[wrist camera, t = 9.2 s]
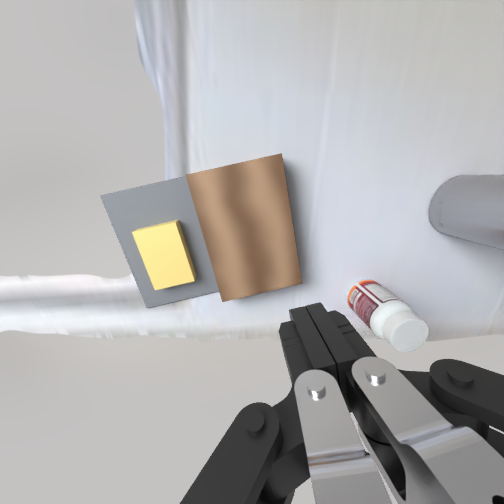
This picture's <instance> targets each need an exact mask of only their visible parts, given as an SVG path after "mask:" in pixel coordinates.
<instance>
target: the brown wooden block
mask: <svg viewBox="0 0 504 504" xmlns="http://www.w3.org/2000/svg"><path fill="white" fill-rule="evenodd" d="M186 179H187V182H188V185H189V189H190V192H191V196H192V199H193V203H194V206H195V209H196V213H197V216H198V220H199V223H200V227H201V230H202V234H203V237H204V240H205V244H206V247H207V251H208V254H209V258H210V261H211V264H212V268H213V271H214V275H215V278H216V282H217V285H218V288H219V292H220V295H221V299H222V302H225V301H229V300H233V299H238V298H242V297H246V296H250V295H255V294H259V293H263V292H267V291H272V290H276V289H280V288H284V287H289V286H293V285H297V284H301V283H302V279H301V272H300V266H299V260H298V253H297V247H296V241H295V234H294V228H293V222H292V215H291V209H290V203H289V197H288V190H287V184H286V178H285V171H284V165H283V159H282V153H281V154H277V155H272V156H268V157H264V158H259V159H255V160H250V161H246V162H241V163H237V164H232V165H228V166H224V167H219V168H215V169H210V170H206V171H201V172H197V173H192V174H188V175H186Z"/></svg>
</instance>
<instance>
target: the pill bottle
mask: <svg viewBox="0 0 504 504" xmlns="http://www.w3.org/2000/svg"><path fill="white" fill-rule="evenodd" d="M347 303H348V305H349V306H350V308H351V309H352V310H353V311H354V312H355V313H356V314H357V315H358V316H359V317H360V318H361V320H362V321H363V322H364V323H365V324H366V325H367V326H368V327H369V328H370V329H371V330H372V332H373V333H375V334H376V335H377V336H378V337H379V338H381V339H384V340H386V341H387V342H388V343H389V344H390V345H391V346H392V347H393V348H394V349H395V350H397V351H400V352H410V351H413V350H415V349H417V348H419V347H420V346H421V345H422V344H423V343H424V342H425V341H426V339H427V337H428V334H429V328H428V325H427V324H426V322H425V321H423V320H422V319H421V318H419V317H418V316H417V315H416V314H414V312H413V310H412V309H411V307H410V306H409V305H407V304H406V303H405V302H403V301H402V300H400V299H399V298H398V297H396V296H395V295H393V294H392V293H391V292H389V291H388V290H386V289H385V288H384V287H382V286H381V285H380V284H378V283H377V282H375V281H373V280H368V279H365V280H360V281H358V282H356V283H355V284H353V285H352V286H351V287H350V289H349V291H348V293H347Z"/></svg>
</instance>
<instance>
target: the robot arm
mask: <svg viewBox="0 0 504 504" xmlns="http://www.w3.org/2000/svg"><path fill="white" fill-rule="evenodd" d="M429 218H430V222H431V224H432V226H433V227H434V228H435V229H436V230H437V231H439V232H441V233H444V234H447V235H451V236H455V237H459V238H462V239H466V240H469V241H473V242H477V243H480V244H484V245H488V246H492V247H495V248H499V249H503V250H504V175H461V176H456V177H454V178H452V179H450V180H448V181H447V182H445V183H444V184H443V185H442V186H441V187H440V188H439V189H438V190H437V192H436V193H435V195H434V197H433V199H432V201H431V204H430V208H429ZM289 314H290V319H291V321H288V322H284V323H281V326H280V329H279V334H280V339H281V343H282V347H283V352H284V356H285V360H286V364H287V367H288V371H289V375H290V378H291V382H292V388H291V391H290V393H289V394H288V396H287V397H286V398H285V399H284V400H283V401H281V402H279V403H278V404H276V405H275V406H273V407H271V406H270V405H268V404H266V403H253V404H250V405H248V406H246V407H245V408H243V409H242V410H241V411H240V412H239V414H238V415H237V417H236V418H235V420H234V421H233V423H232V424H231V426H230V428H229V429H228V430H227V432H226V434H225V435H224V437H223V438H222V440H221V441H220V443H219V444H218V446H217V447H216V449H215V450H214V452H213V453H212V455H211V456H210V458H209V460H208V461H207V463H206V464H205V466H204V467H203V469H202V470H201V472H200V473H199V475H198V477H197V478H196V480H195V481H194V483H193V484H192V486H191V487H190V489H189V490H188V492H187V493H186V495H185V497H184V498H183V500H182V501H181V503H180V504H291V502H292V499H293V496H294V492H295V489H296V488H297V487H298V486H300V485H301V484H302V483H304V482H305V481H306V480H307V479H309V478H310V477H311V482H312V487H313V492H314V497H315V503H316V504H392V502H391V500H390V497H389V495H388V493H387V490H386V488H385V486H384V483H383V481H382V479H381V476H380V474H379V472H378V469H377V467H378V468H379V470H380V472H381V474H382V476H383V477H384V479H385V481H386V483H387V484H388V486H389V488H390V490H391V492H392V493H393V495H394V497H395V499H396V500H397V502H398V504H504V434H502V433H500V432H498V431H496V430H494V429H491V428H489V425H490V426H492V427H494V428H496V429H499V430H501V431H503V432H504V375H501V374H498V373H495V372H492V371H489V370H486V369H483V368H480V367H477V366H475V365H472V364H468V363H466V362H462V361H458V360H454V359H442V360H437V361H435V362H434V363H433V364H432V365H431V367H430V372H416V371H404V370H399V369H397V368H396V367H395V366H394V365H392V364H391V363H390V362H388V361H386V360H384V359H381V358H378V357H377V356H376V355H375V354H374V352H373V351H372V350H371V349H370V347H369V346H368V345H367V343H366V342H365V341H364V340H363V338H362V337H361V336H360V335H359V333H358V332H356V330H355V328H354V327H353V326H352V325H351V323H350V322H349V321H348V319H347V318H346V317H345V316H344V315H342V314H341V313H339V312H337V311H335V310H334V311H330V312H327V311H326V309H325V308H324V306H323V305H322V303H315V304H311V305H307V306H305V307H304V306H303V307H299V308H295V309H291V310H289ZM350 412H353V414H354V416H355V418H356V420H357V422H358V430H359V434H360V436H361V438H362V440H363V442H364V444H365V446H366V447H367V449H368V451H369V452H370V454H371V455H370V454H369V453H367V452H366V451H365V449H364V447H363V445H362V443H361V440H360V438H359V435H358V433H357V430H356V428H355V425H354V423H353V420H352V418H351V416H350ZM371 456H372V457H371ZM375 463H376V464H375ZM376 465H377V467H376Z"/></svg>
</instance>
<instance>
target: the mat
mask: <svg viewBox="0 0 504 504" xmlns="http://www.w3.org/2000/svg"><path fill="white" fill-rule="evenodd" d="M100 197H101V199H102V201H103V204H104V206H105V209H106V211H107V213H108V216H109V218H110V221H111V223H112V226H113V228H114V230H115V233H116V235H117V238H118V240H119V242H120V245H121V247H122V249H123V252H124V254H125V257H126V259H127V262H128V264H129V266H130V269H131V271H132V274H133V276H134V278H135V281H136V283H137V286H138V288H139V290H140V293H141V295H142V298H143V300H144V302H145V305H146V307H147V308H150V307H154V306H159V305H163V304H167V303H171V302H176V301H180V300H184V299H188V298H193V297H197V296H201V295H205V294H210V293H214V292H218V291H219V288H218V285H217V282H216V278H215V275H214V271H213V268H212V264H211V261H210V258H209V254H208V251H207V247H206V244H205V240H204V237H203V234H202V230H201V227H200V223H199V220H198V216H197V213H196V209H195V206H194V203H193V199H192V196H191V192H190V189H189V185H188V182H187V179H186V176H185V177H180V178H176V179H171V180H167V181H162V182H158V183H154V184H149V185H145V186H140V187H136V188H131V189H127V190H123V191H118V192H114V193H109V194H105V195H101V196H100ZM175 220H179V223H180V226H181V229H182V232H183V235H184V238H185V241H186V244H187V248H188V251H189V254H190V257H191V260H192V263H193V266H194V269H195V273H196V279H195V281H193V282H189V283H184V284H180V285H176V286H172V287H167V288H163V289H159V290H154V287H153V285H152V282H151V280H150V277H149V274H148V272H147V269H146V267H145V264H144V262H143V259H142V257H141V254H140V252H139V249H138V247H137V244H136V241H135V239H134V236H133V234H132V232H133V231H135V230H137V229H140V228H145V227H149V226H153V225H158V224H162V223H166V222H171V221H175Z"/></svg>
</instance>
